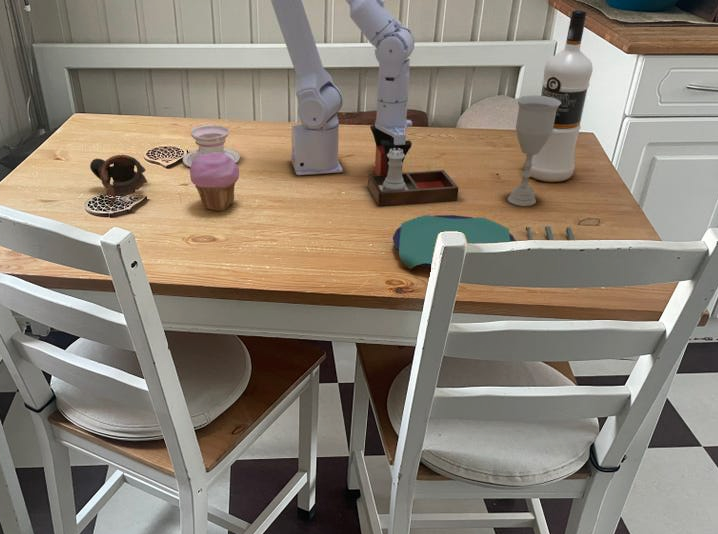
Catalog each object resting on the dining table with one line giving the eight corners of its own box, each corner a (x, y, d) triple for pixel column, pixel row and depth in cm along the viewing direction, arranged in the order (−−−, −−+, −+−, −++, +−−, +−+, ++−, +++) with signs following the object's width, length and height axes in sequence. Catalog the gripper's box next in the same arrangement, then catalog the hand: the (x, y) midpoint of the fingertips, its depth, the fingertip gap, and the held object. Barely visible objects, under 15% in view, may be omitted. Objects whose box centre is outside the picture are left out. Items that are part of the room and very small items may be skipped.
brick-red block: (379, 180, 143) (381, 153, 140) (374, 172, 146) (375, 145, 143) (401, 179, 143) (403, 152, 140) (395, 171, 147) (397, 144, 144)
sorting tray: (378, 206, 133) (379, 193, 132) (367, 187, 140) (368, 175, 139) (457, 200, 135) (458, 187, 133) (442, 182, 142) (443, 169, 141)
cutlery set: (394, 222, 127) (395, 210, 126) (571, 231, 124) (573, 218, 122) (389, 277, 112) (390, 263, 110) (591, 289, 108) (595, 275, 106)
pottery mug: (159, 186, 143) (154, 158, 136) (136, 222, 139) (130, 196, 132) (104, 165, 144) (96, 137, 137) (80, 201, 141) (71, 173, 133)
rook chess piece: (406, 196, 135) (409, 154, 130) (382, 196, 135) (384, 154, 130) (404, 187, 139) (407, 146, 134) (381, 187, 139) (383, 146, 134)
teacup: (250, 162, 152) (248, 133, 148) (199, 175, 146) (196, 145, 143) (222, 146, 160) (220, 118, 156) (173, 158, 154) (169, 129, 151)
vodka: (582, 177, 143) (619, 11, 125) (547, 187, 139) (580, 17, 122) (548, 162, 150) (578, 3, 132) (514, 171, 146) (540, 8, 128)
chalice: (543, 195, 136) (562, 97, 126) (540, 209, 131) (560, 108, 120) (503, 190, 138) (518, 94, 128) (499, 204, 133) (514, 105, 122)
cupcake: (228, 219, 129) (224, 165, 123) (185, 213, 132) (178, 159, 126) (248, 200, 136) (245, 148, 130) (207, 194, 138) (202, 142, 133)
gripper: (423, 109, 131) (418, 181, 139) (403, 87, 142) (398, 154, 150) (385, 111, 130) (382, 183, 138) (368, 89, 142) (365, 157, 150)
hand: (388, 168), depth 144 cm, fingers open, 7 cm apart
